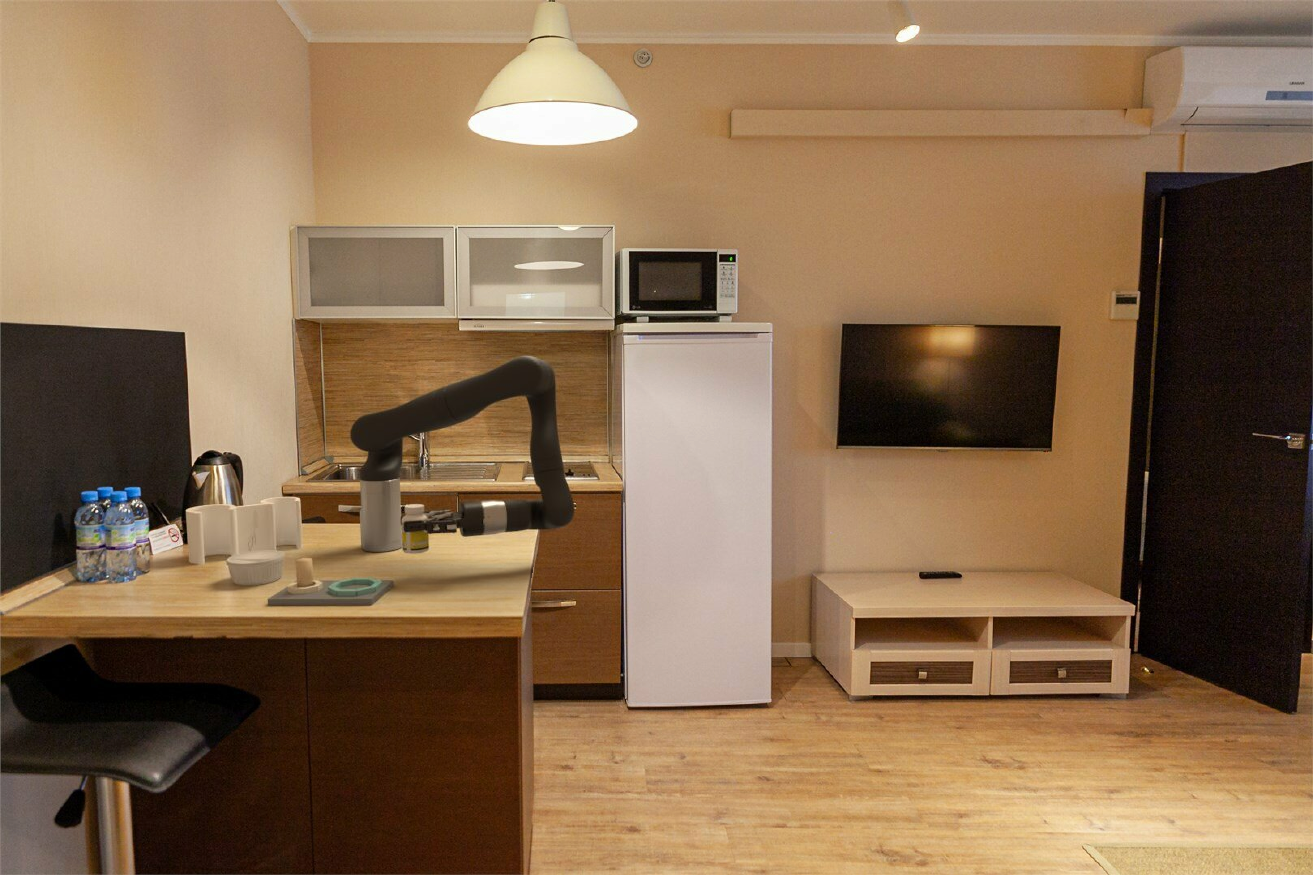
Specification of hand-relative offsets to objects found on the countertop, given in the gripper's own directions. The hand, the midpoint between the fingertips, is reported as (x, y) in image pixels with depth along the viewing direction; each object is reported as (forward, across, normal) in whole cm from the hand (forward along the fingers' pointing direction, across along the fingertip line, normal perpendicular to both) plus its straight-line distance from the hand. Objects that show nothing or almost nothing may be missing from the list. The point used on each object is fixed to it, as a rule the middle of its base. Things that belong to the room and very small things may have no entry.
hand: (402, 523), depth 178 cm
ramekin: (+29, -12, +13) cm, 34 cm away
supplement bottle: (-3, 0, +6) cm, 7 cm away
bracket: (+32, -40, +13) cm, 53 cm away
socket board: (+14, +6, +12) cm, 20 cm away
